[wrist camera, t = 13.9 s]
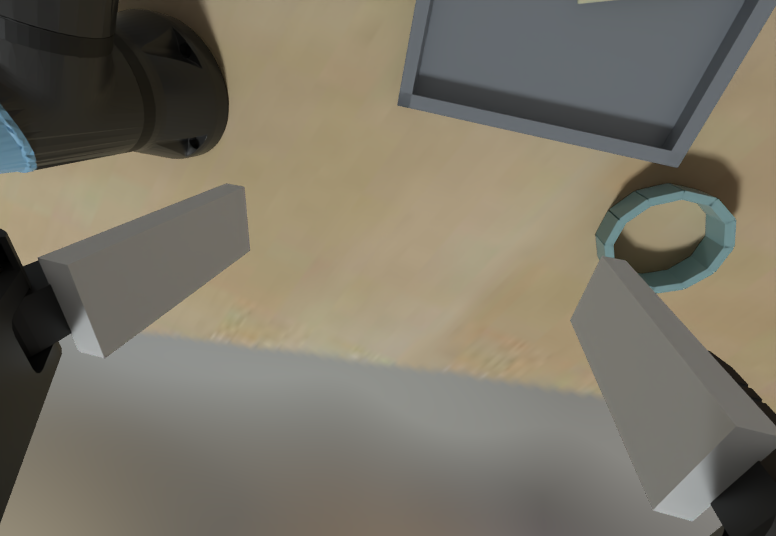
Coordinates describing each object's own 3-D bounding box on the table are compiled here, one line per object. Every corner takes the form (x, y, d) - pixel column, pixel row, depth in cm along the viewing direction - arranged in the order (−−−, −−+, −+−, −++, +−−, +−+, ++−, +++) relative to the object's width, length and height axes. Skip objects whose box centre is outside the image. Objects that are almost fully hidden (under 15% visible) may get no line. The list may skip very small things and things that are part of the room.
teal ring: (579, 264, 39) (586, 276, 36) (627, 173, 34) (640, 180, 31) (675, 289, 38) (690, 304, 35) (741, 199, 33) (764, 208, 30)
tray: (403, 104, 36) (397, 105, 33) (449, -144, 27) (446, -170, 24) (661, 161, 33) (677, 167, 30) (809, -95, 24) (850, -118, 21)
